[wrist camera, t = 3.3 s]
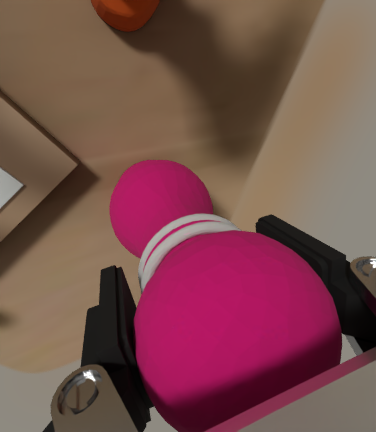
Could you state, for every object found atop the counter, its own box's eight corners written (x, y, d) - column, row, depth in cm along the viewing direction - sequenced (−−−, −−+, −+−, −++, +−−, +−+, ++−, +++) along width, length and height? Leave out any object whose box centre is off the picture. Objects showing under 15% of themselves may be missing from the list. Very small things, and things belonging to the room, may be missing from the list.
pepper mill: (167, 243, 24) (343, 600, 6) (94, 214, 21) (11, 744, 3) (204, 177, 23) (562, 376, 5) (133, 137, 20) (366, 255, 2)
